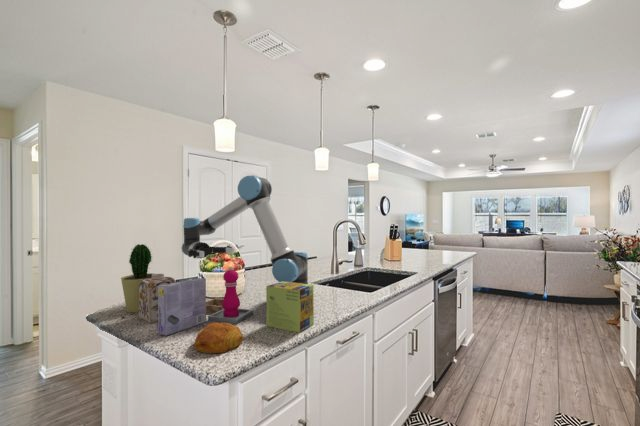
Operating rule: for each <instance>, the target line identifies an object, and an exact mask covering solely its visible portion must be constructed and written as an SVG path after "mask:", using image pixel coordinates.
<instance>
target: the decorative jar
mask: <svg viewBox="0 0 640 426" xmlns="http://www.w3.org/2000/svg"><path fill="white" fill-rule="evenodd" d="M175 282H176V280H175V278H173V277H171V276H165V274H164V273H153V275H152V278H148V279H145V280H143V281H142V282H141V283H140V285H139V312H138V317H139V318H141V319H142V320H144V321H146V322H147V323H149V324H152V323H156V322H157V323H158V286H159V285H165V284H170V283H175Z"/></svg>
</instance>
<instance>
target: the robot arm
mask: <svg viewBox="0 0 640 426" xmlns="http://www.w3.org/2000/svg"><path fill="white" fill-rule="evenodd" d="M272 191H273V188H272V184H271V183H270V181H269V180H268V179H267V178H264V177H260V176H257V175H253V174H252V175H250V174H249V175H246V176H244V177H242V178H240V180H239V182H238V185H237V192H238V195H239V196H238V198H236V199H234V200H233V201H231V202H229V203H228V204H226V205H225V206H223V207H222V208H221V209H219V210H218V211H216V212H214V213H213V214H211V215H210V216H208V217H207V218H206V219H205V218H204V220H201V221H200V218H199V217H184V219H183V243H182V245H181V247H180V248H181V252H182V253H183V255H186V256H188V257H189V258H192V257H193V259H204V258H206V257H208V256H209V255H215V254H227V255H228V254H229V255H234V254H235V249H234V247H232V246H229V245H227V246H210V245H209V244H208V243H206V242H203V241H201V236H205V235H206V236H209V235H212V234H214V233H215V232H216V231H217V229H219V228H220V227H221V226H223V225H225V224H226V223H228V222H229V221H231V220H232V219H234V218H236V217H237V216H239V215H240V214H242V213H244V212H245V211H247V210H248V209H252V211H253V213H254V216H255V218H256V221H257V223H258V225H259V227H260V230H261V232H262V235H263V238H264V240H265V242H266V244H267V247H268V249H269V252H270V254H271V257H270V259H269V260H270V263H271V264H272V269H271V273H272V276H273V278H274V279H275V280H276V281H277V283H279V282H282V281H283V282H292V283H302V284H309V280H308V275H309V272H308V271H309V270H308V269H309V267H308V264H309V263H308V262H309V260H308V259H309V258H308V257H309V256H308V253H307V252H298V251H294V249H292V248H290V247H289V245H288V243H287V240H286V238H285V236H284V233H283V232H282V229H281V227H280V225H279V222H278V219H277V216H276V214H275V212H274V211H273V208H272V206H271V204H270V201H271V198H272V197H271V194H272Z"/></svg>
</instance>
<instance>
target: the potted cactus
mask: <svg viewBox="0 0 640 426" xmlns="http://www.w3.org/2000/svg"><path fill="white" fill-rule="evenodd" d="M131 250H132V251H131V252H130V255H129V259H128V260H129V261H128V264H130V266H129V267H130V268H131V273H132V274H129V275H125V276H122V277H121V278H120V279H121V285H122V291H123V297H124V301H125V308H126V312H127V311H128V313H139V285H140V283H141V282H142V281H143V280H145V279H148V278H152V275H153V274H154V273H150V272H149V271H148V269H151V268H150V267H149V266H150V264H152V263H153V260H152V259H153V256H152V255H153V254H152V250H151V249H150V248H149V247H148V246H147V244H146V243H145V244H140V243H139V244H138V243H137V244H135V245H134V247H133V248H131ZM153 264H154V263H153Z"/></svg>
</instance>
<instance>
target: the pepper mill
mask: <svg viewBox="0 0 640 426" xmlns="http://www.w3.org/2000/svg"><path fill="white" fill-rule="evenodd" d="M222 278H223V281H224V286H225V292H224V293H225V294H224V296H223V298H222V299H223V302H222V307H223V309H224V311H223V316H225V317H234V316H237V315H239V310H238V308H239V309H240V306H241V301H240V298H239V295H238V292H237V286H238V279H239V274H238V272H237V271H236V270H234V267H233V266H229V267H228V270H227V271H225V272H224V273H223V277H222Z"/></svg>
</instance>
